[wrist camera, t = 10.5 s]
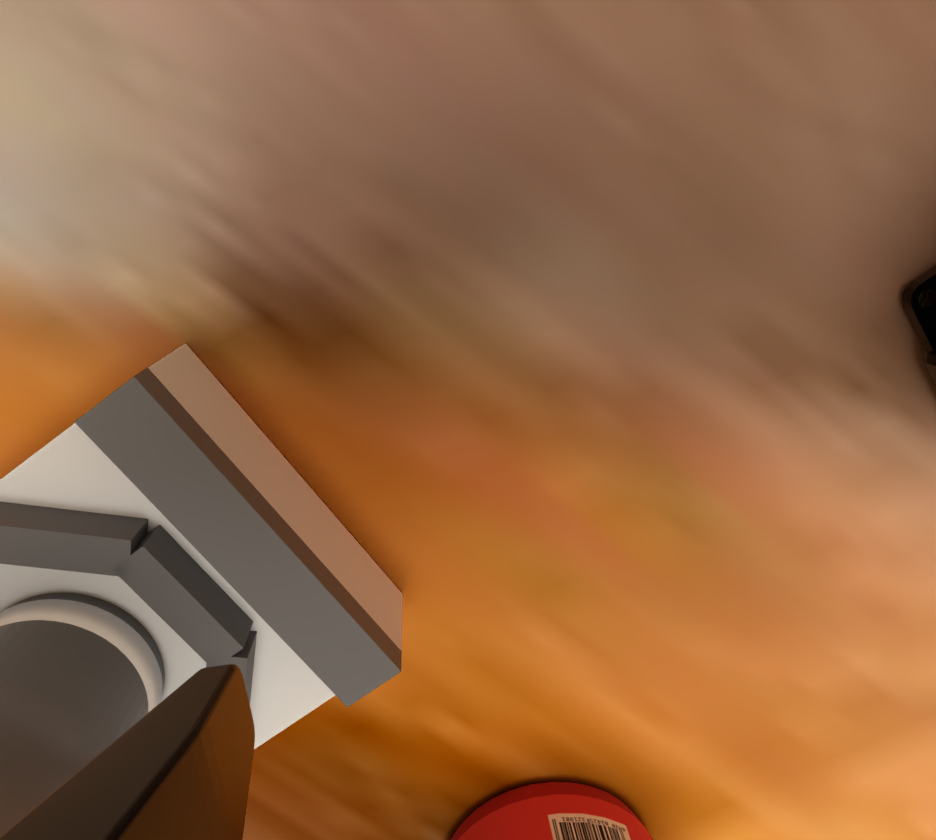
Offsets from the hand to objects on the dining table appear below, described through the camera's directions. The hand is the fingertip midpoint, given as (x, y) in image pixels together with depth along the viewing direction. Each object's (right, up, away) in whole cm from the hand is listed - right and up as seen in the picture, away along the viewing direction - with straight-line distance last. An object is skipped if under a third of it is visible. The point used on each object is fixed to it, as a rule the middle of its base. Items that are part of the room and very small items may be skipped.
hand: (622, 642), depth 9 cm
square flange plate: (-12, -3, +14) cm, 18 cm away
